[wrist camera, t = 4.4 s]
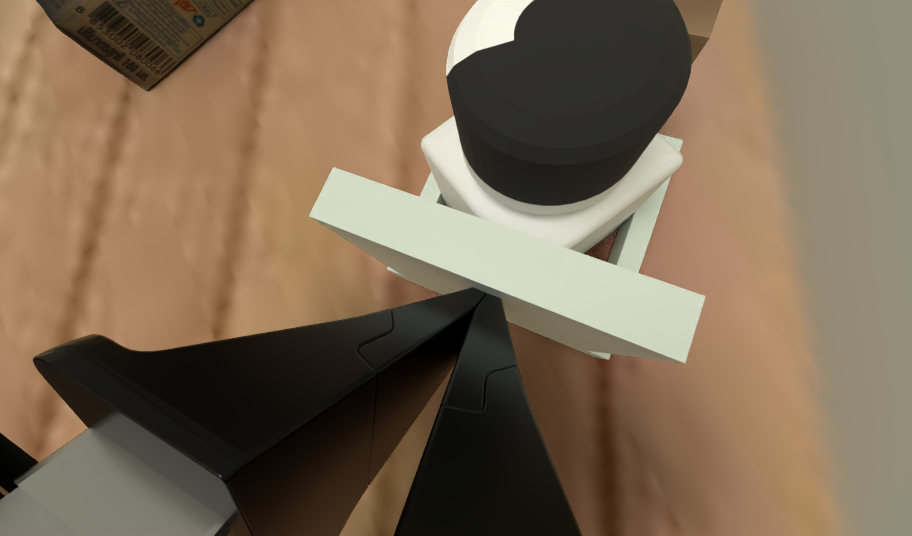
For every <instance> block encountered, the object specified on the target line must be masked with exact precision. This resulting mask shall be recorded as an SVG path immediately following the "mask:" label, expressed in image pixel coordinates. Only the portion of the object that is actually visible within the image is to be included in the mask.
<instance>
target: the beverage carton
mask: <svg viewBox="0 0 912 536" xmlns="http://www.w3.org/2000/svg"><path fill="white" fill-rule="evenodd" d="M36 1H37V2H38V3H39V4H40V6H41V7H42V8H43V9H44V11H45V13H46V14H47V16H48V17H49V18H50V20H51V21H52V22H53V23H54V25H55V26H56V27H57V28H58V29H59V30H60V31H61V32H63V33H64V34H65V35H67V36H68V37H69V38H71V39H72V40H74V41H75V42H76V43H78V44H79V45H80V46H82V47H83V48H84V49H86V50H87V51H89V52H90V53H91V54H93V55H94V56H96V57H97V58H98V59H100V60H101V61H103V62H104V63H106V64H107V65H108V66H110V67H111V68H113V69H114V70H116V71H117V72H119V73H120V74H122V75H123V76H125V77H126V78H128V79H129V80H131V81H132V82H134V83H135V84H137V85H138V86H140V87H141V88H143V89H144V90H148V89H149V88H150V87H151V86H153V85H154V84H155V83H157V82H158V81H159V80H160V79H162V78H163V77H164V76H165V75H166V74H167V73H168V72H169V71H171V70H172V69H173V68H174V67H175V66H176V65H177V64H179V63H180V62H181V61H182V60H183V59H184V58H186V57H187V56H188V55H189V54H190V53H191V52H192V51H194V50H195V49H196V48H197V47H198V46H199V45H201V44H202V43H203V42H204V41H205V40H206V39H207V38H209V37H210V36H211V35H212V34H214V33H215V32H216V31H217V30H218V29H220V28H221V27H222V26H223V25H224V24H225V23H227V22H228V21H229V20H230V19H231V18H232V17H234V16H235V15H236V14H237V13H238V12H240V11H241V10H242V9H243V8H244V7H245V6H247V5H248V4H249V3H250V2H251V1H252V0H36Z"/></svg>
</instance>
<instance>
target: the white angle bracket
mask: <svg viewBox="0 0 912 536" xmlns="http://www.w3.org/2000/svg"><path fill="white" fill-rule="evenodd" d="M660 135H661V134H660ZM661 136H662V137H663V138H664V139H665V140H666V141H668V142H669V143H670V144H671V145H672V146H673V147H674V148H675V149H676V150H677V151H678V152H679V151H680V148H681V145H682V142H683V140H680V139H677V138H673V137H669V136H665V135H661ZM670 178H671V176H670V177H669V178H668V179H667V180H666V181H665V182H664V183H663V184H662V185H661V186H660V187H659V188H658V189H657V190H656V191H655V192H654V193H653V194H652V195H651V196H650V197H649V198H648V199H647V200H646V201H645V202H644V203H643V204H642V205H641V206H640V207H639V208H638V209H637V210H636V211H635V212H634V213H633V214H632V215H631V216H630V217H629V218H628V219H627V220H626V221H625V222H624V223H623V224H622V225H621V226H620V227H619V230H618V232H617V235H616V238H615V241H614V244H613V246H612V249H611V252H610V255H609V258H608V261H607V262H605V261H602V260H599V259H596V258H594V257H591V256H588V255H585V254H582V253H579V252H576V251H573V250H570V249H568V248H565V247H562V246H559V245H556V244H553V243H550V242H547V241H545V240H542V239H539V238H536V237H533V236H530V235H527V234H524V233H521V232H519V231H516V230H513V229H510V228H507V227H504V226H501V225H498V224H496V223H493V222H490V221H487V220H484V219H481V218H478V217H475V216H473V215H470V214H467V213H464V212H461V211H458V210H455V209H452V208H449V207H447V206H446V204H445V201H444V199H443V197H442V194H441V192H440V190H439V187H438V185H437V183H436V180H435V178H434V176H433V174H432V171H431V173H430V175H429V177H428V180H427V182H426V184H425V186H424V188H423V191H422V193H421V195H420V197H418V196H415V195H412V194H409V193H406V192H403V191H401V190H398V189H395V188H392V187H389V186H386V185H383V184H380V183H377V182H375V181H372V180H369V179H366V178H363V177H360V176H357V175H354V174H352V173H349V172H346V171H343V170H340V169H337V168H334V167H333V169H332V171H331V173H330V175H329V177H328V179H327V181H326V183H325V185H324V187H323V189H322V191H321V193H320V195H319V197H318V199H317V201H316V203H315V205H314V207H313V209H312V211H311V213H310V215H309V217H311V218H313V219H314V220H316V221H317V222H319V223H320V224H322V225H324V226H325V227H327V228H328V229H330V230H332V231H333V232H335V233H336V234H338V235H339V236H341V237H343V238H344V239H346V240H347V241H349V242H350V243H352V244H354V245H355V246H357V247H358V248H360V249H362V250H363V251H365V252H366V253H368V254H369V255H371V256H373V257H374V258H376V259H377V260H379V261H380V262H382V263H384V264H385V265H387V266H388V268H387V270H389V271H390V272H392V273H394V274H395V275H397V276H399V277H400V278H403V279H405V280H408V281H410V282H413V283H415V284H417V285H420V286H422V287H425V288H427V289H430V290H432V291H435V292H437V293H439V294H442V295H445V294H449V293H453V292H457V291H460V290H464V289H468V288H472V287H473V288H476V289H478V290H481V291H483V292H486V293H488V294H491V295H493V296H496V297H498V298H501V299H502V303H503V307H504V311H505V315H506V320H507V321H508V322H510V323H513V324H515V325H518V326H520V327H522V328H525V329H527V330H530V331H532V332H535V333H537V334H540V335H542V336H544V337H547V338H549V339H552V340H554V341H557V342H559V343H562V344H564V345H566V346H569V347H571V348H574V349H576V350H579V351H581V352H583V353H586V354H588V355H591V356H593V357H596V358H602V359H607V360H609V358H610V355H611V354H616V355H623V356H631V357H639V358H647V359H655V360H663V361H671V362H678V363H685V362H686V359H687V356H688V352H689V349H690V346H691V342H692V339H693V336H694V332H695V329H696V326H697V323H698V319H699V316H700V313H701V309H702V306H703V303H704V300H705V296H703V295H700V294H697V293H694V292H691V291H689V290H686V289H683V288H680V287H677V286H674V285H671V284H668V283H666V282H663V281H660V280H657V279H654V278H651V277H648V276H645V275H642V274H640V273H638V272H639V269H640V266H641V264H642V261H643V258H644V255H645V252H646V249H647V246H648V243H649V240H650V237H651V234H652V231H653V228H654V225H655V222H656V219H657V216H658V213H659V210H660V207H661V204H662V201H663V198H664V195H665V193H666V190H667V187H668V184H669V181H670Z"/></svg>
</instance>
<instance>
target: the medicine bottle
mask: <svg viewBox="0 0 912 536" xmlns="http://www.w3.org/2000/svg"><path fill="white" fill-rule="evenodd" d="M691 63H692V51H691V42H690V38H689V34H688V31H687V28H686V25H685V22H684V20H683V18H682V16H681V13H680V11H679V9H678V7H677V6H676V4H675V3H674V1H673V0H478V1H477V2H476V3H475V4H474V5H473V7H472V8H471V9H470V10H469V12H468V13H467V15H466V16H465V17H464V19H463V20H462V22H461V23H460V25H459V27H458V29H457V31H456V33H455V35H454V36H453V39H452V42H451V45H450V48H449V52H448V58H447V68H446V77H447V84H448V90H449V95H450V99H451V104H452V108H453V113H454V116H453V117H451V118H450V119H448V120H447V121H446V122H444V123H443V124H442V125H440V126H439V127H438V128H436V129H435V130H433V131H432V132H431V133H429V134H428V135H427V136H425V137H424V138H423V139H422V142H421V148H422V150H423V153H424V155H425V157H426V160H427V162H428V164H429V167H430V169H431V171H432V174H433V176H434V178H435V180H436V183H437V185H438V187H439V190H440V192H441V194H442V197H443V199H444V201H445V204H446V206H447V207H449V208H452V209H455V210H458V211H461V212H464V213H467V214H470V215H473V216H475V217H478V218H481V219H484V220H487V221H490V222H493V223H496V224H498V225H501V226H504V227H507V228H510V229H513V230H516V231H519V232H521V233H524V234H527V235H530V236H533V237H536V238H539V239H542V240H545V241H547V242H550V243H553V244H556V245H559V246H562V247H565V248H568V249H570V250H573V251H576V252H579V253H582V254H584V253H585V252H587V251H588V250H589V249H591V248H592V247H593V246H595V245H596V244H597V243H599V242H600V241H601V240H603V239H604V238H605V237H607V236H608V235H609V234H611V233H612V232H613V231H615V230H616V229H617V228H619V227H620V226H621V225H622V224H623V223H624V222H625V221H626V220H627V219H628V218H629V217H630V216H631V215H632V214H633V213H634V212H635V211H636V210H637V209H638V208H639V207H640V206H641V205H642V204H643V203H644V202H645V201H646V200H647V199H648V198H649V197H650V196H651V195H652V194H653V193H654V192H655V191H656V190H657V189H658V188H659V187H660V186H661V185H662V184H663V183H664V182H665V181H666V180H667V179H668V178H669V177H670V176H671V175H672V174H673V173H674V172H675V171H676V170H677V169H678V168H679V167H680V166H681V164H682V162H683V157H682V155H681V154H680V152H678V151H677V150H676V149H675V148H674V147H673V146H672V145H671V144H670V143H669V142H668V141H666V140H665V139H664V138H663V137H662V136H661V135H660V134H659V133H658V132H659V130H660V129H661V128H662V126H663V125H664V123H665V122H666V121H667V119H668V118H669V117H670V115H671V114H672V112H673V111H674V109H675V108H676V107H677V105H678V104H679V102H680V100H681V98H682V96H683V94H684V92H685V90H686V87H687V84H688V80H689V77H690V73H691Z"/></svg>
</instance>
